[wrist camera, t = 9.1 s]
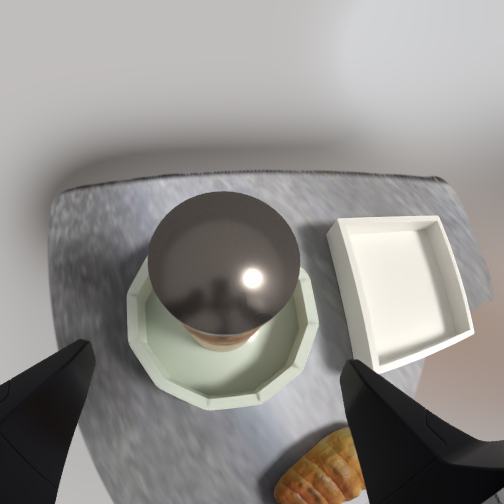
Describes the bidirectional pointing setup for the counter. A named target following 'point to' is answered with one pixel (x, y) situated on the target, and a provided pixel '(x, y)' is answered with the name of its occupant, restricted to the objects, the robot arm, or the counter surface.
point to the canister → (223, 267)
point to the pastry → (323, 473)
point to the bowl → (220, 363)
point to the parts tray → (398, 288)
